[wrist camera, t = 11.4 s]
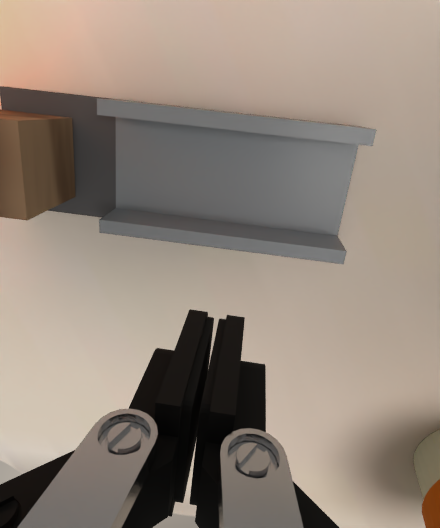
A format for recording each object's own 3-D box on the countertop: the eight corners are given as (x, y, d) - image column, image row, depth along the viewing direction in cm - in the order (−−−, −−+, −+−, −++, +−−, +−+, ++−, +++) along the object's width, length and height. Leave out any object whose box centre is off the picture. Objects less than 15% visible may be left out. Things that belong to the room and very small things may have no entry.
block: (72, 117, 29) (17, 120, 22) (75, 196, 31) (27, 220, 24) (-6, 108, 29) (-81, 109, 22) (4, 187, 31) (-63, 208, 25)
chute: (360, 126, 28) (376, 129, 24) (333, 245, 31) (343, 264, 28) (117, 99, 29) (96, 98, 25) (117, 218, 32) (99, 232, 28)
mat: (117, 99, 29) (116, 99, 28) (117, 218, 32) (116, 219, 32) (2, 86, 29) (-1, 86, 29) (14, 205, 33) (12, 205, 32)
